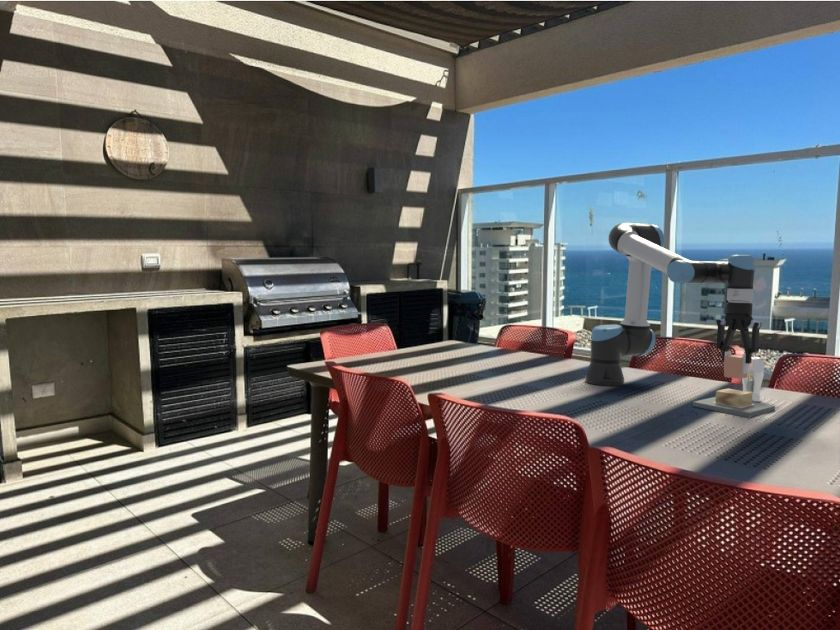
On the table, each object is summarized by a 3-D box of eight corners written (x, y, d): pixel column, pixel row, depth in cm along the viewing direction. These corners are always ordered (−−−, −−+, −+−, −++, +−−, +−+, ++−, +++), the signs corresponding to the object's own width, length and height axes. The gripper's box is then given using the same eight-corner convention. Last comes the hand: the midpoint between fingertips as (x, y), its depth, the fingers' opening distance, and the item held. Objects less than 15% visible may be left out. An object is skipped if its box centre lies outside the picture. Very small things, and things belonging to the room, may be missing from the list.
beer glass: (759, 398, 205) (762, 357, 204) (764, 402, 198) (767, 360, 197) (737, 397, 207) (740, 356, 206) (741, 401, 201) (744, 359, 200)
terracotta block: (724, 376, 189) (725, 355, 189) (731, 375, 192) (732, 354, 192) (739, 379, 185) (740, 357, 185) (747, 377, 188) (748, 356, 187)
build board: (692, 406, 192) (692, 401, 191) (719, 399, 202) (719, 395, 202) (748, 417, 177) (748, 412, 177) (774, 410, 187) (774, 405, 187)
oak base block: (715, 402, 190) (716, 390, 190) (727, 399, 195) (727, 388, 195) (740, 407, 184) (740, 395, 183) (751, 404, 188) (752, 392, 188)
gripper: (706, 300, 192) (703, 369, 194) (763, 303, 177) (759, 377, 179) (717, 300, 196) (714, 367, 198) (774, 303, 182) (770, 374, 183)
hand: (735, 371), depth 188 cm, fingers closed on terracotta block, 5 cm apart
